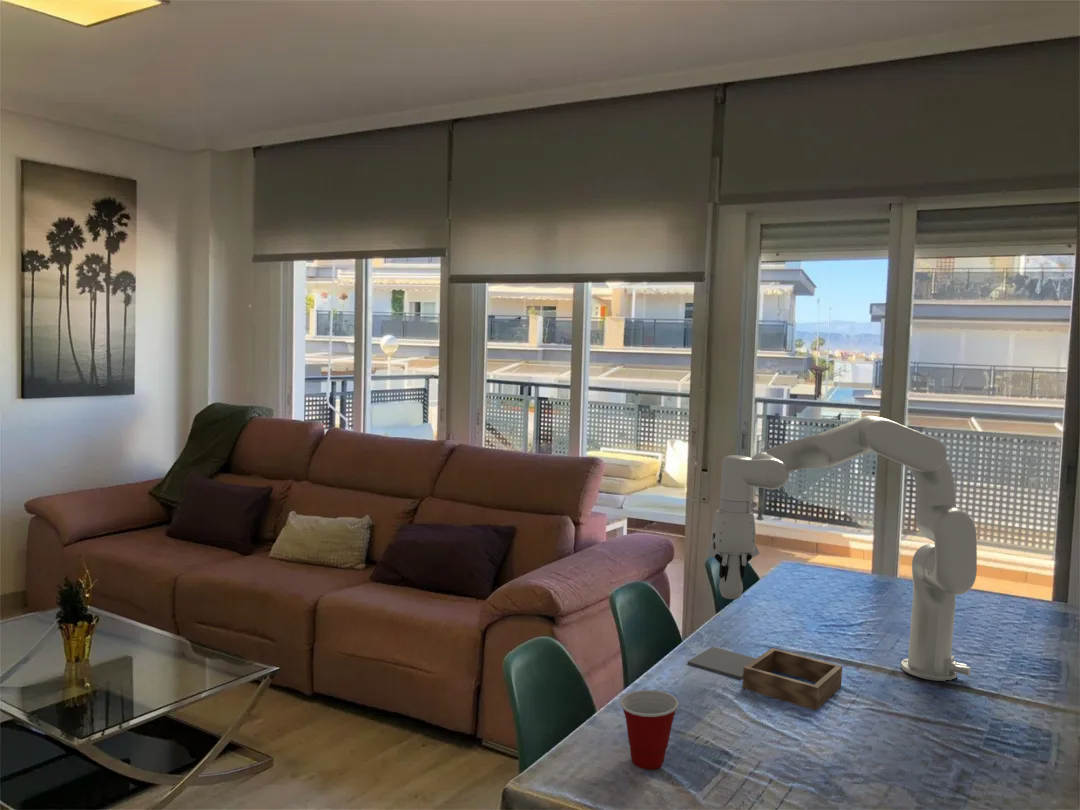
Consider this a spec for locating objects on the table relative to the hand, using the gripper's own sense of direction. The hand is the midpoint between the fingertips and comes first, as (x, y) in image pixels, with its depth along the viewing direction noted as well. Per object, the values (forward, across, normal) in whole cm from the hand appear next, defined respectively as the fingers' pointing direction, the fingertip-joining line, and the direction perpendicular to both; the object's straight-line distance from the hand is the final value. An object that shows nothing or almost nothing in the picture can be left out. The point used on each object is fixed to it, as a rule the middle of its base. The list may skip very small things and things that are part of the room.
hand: (731, 579), depth 209 cm
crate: (+21, -10, +15) cm, 28 cm away
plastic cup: (+21, +33, +47) cm, 62 cm away
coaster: (+21, 0, 0) cm, 21 cm away
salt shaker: (+4, 0, 0) cm, 4 cm away
